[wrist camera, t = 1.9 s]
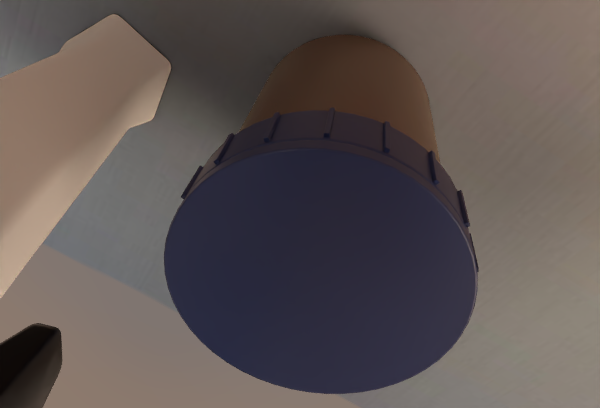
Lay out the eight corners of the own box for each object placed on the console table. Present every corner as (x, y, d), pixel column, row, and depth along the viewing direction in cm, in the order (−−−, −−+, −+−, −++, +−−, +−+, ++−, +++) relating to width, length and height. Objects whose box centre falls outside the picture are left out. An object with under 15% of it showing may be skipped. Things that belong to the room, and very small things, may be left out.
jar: (363, 219, 21) (351, 402, 14) (230, 138, 20) (144, 291, 13) (467, 100, 18) (521, 255, 11) (318, -4, 17) (268, 93, 10)
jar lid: (358, 374, 16) (356, 432, 14) (145, 257, 14) (114, 306, 13) (533, 215, 12) (556, 268, 11) (273, 43, 11) (254, 73, 9)
